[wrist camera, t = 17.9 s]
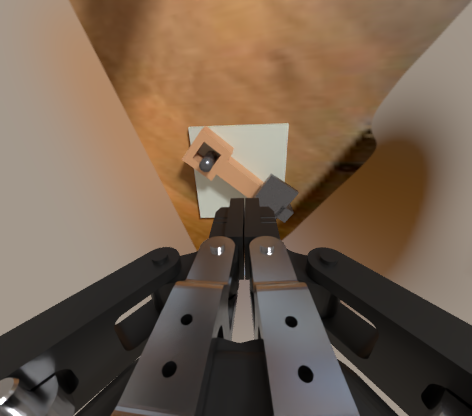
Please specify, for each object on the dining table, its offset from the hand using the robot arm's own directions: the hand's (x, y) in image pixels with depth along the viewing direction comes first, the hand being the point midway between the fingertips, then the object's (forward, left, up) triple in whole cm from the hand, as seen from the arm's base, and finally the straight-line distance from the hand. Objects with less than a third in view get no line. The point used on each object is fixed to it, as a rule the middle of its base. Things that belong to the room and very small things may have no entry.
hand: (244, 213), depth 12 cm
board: (+8, -1, -29) cm, 30 cm away
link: (+6, -3, -28) cm, 29 cm away
